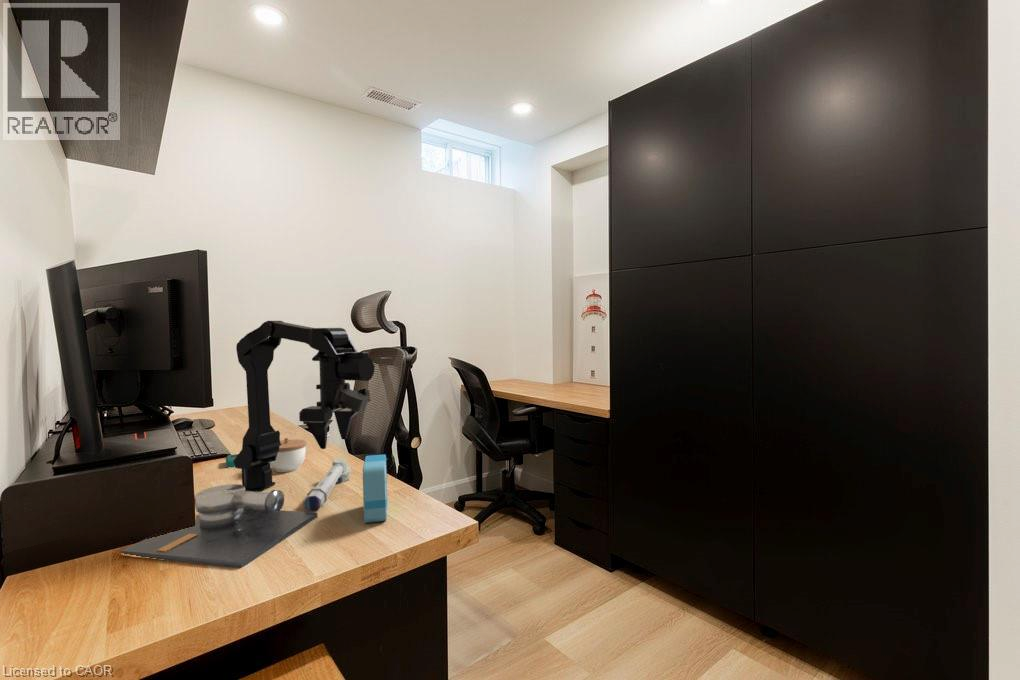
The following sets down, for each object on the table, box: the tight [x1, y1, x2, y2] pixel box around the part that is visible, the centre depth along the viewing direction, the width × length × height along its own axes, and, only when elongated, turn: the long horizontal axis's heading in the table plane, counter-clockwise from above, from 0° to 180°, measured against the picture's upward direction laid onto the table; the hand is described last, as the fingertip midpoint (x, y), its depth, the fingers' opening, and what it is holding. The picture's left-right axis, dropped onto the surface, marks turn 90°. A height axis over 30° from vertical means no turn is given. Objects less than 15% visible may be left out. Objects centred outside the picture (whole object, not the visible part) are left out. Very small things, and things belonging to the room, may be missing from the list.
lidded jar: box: [269, 437, 307, 473], centre depth 140 cm, size 11×11×9 cm
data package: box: [362, 454, 388, 524], centre depth 105 cm, size 12×4×12 cm, turn 14°
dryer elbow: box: [195, 483, 285, 514], centre depth 99 cm, size 18×9×5 cm, turn 78°
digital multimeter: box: [225, 453, 239, 468], centre depth 150 cm, size 7×15×3 cm, turn 122°
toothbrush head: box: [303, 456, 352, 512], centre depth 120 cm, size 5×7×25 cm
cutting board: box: [119, 508, 318, 569], centre depth 95 cm, size 26×22×4 cm
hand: (334, 443), depth 114 cm, fingers open, 9 cm apart
